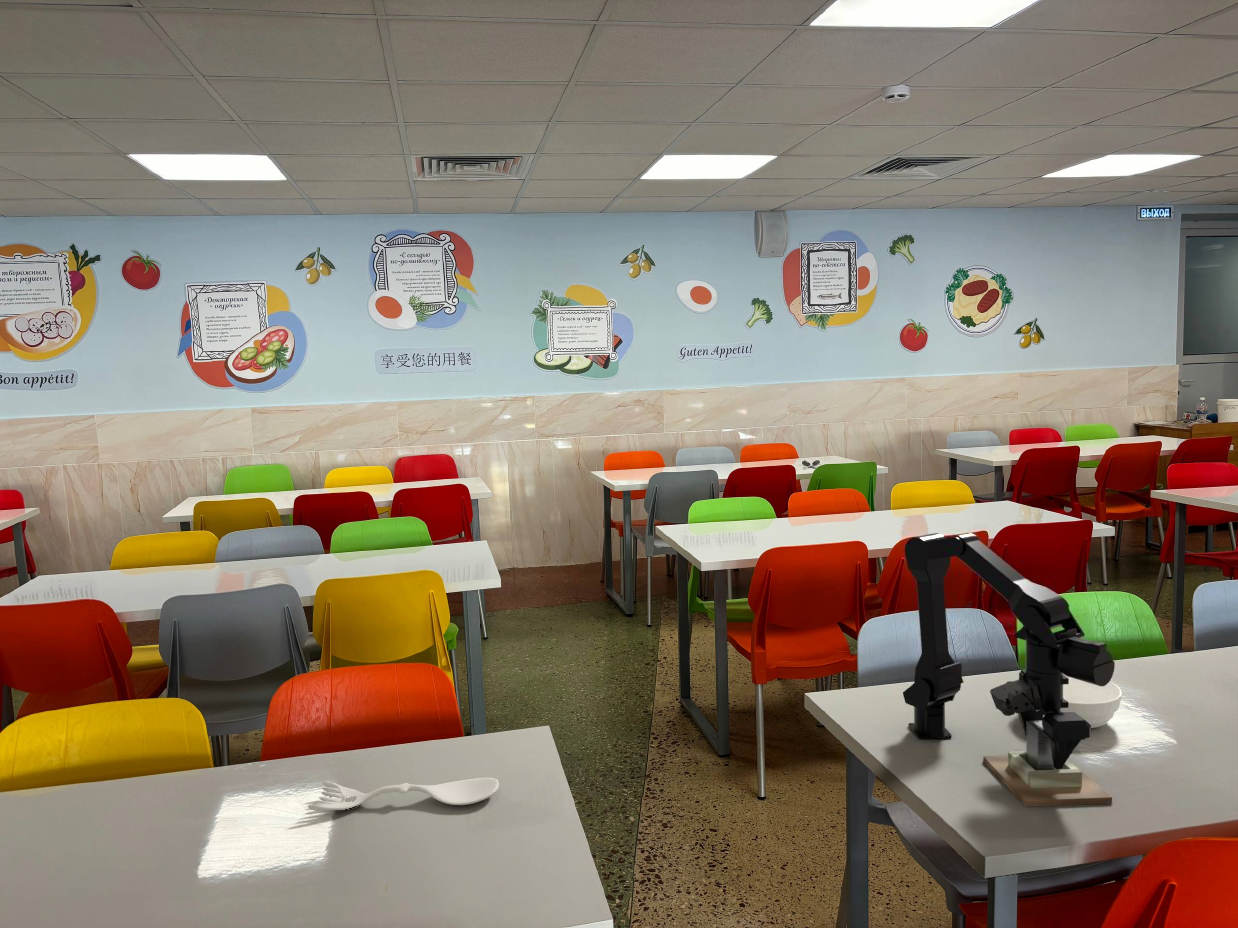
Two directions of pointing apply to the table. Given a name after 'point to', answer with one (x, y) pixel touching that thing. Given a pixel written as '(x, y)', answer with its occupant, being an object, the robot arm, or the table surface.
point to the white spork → (445, 792)
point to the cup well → (1045, 782)
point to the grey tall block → (1038, 747)
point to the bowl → (1091, 701)
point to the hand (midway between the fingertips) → (1043, 755)
